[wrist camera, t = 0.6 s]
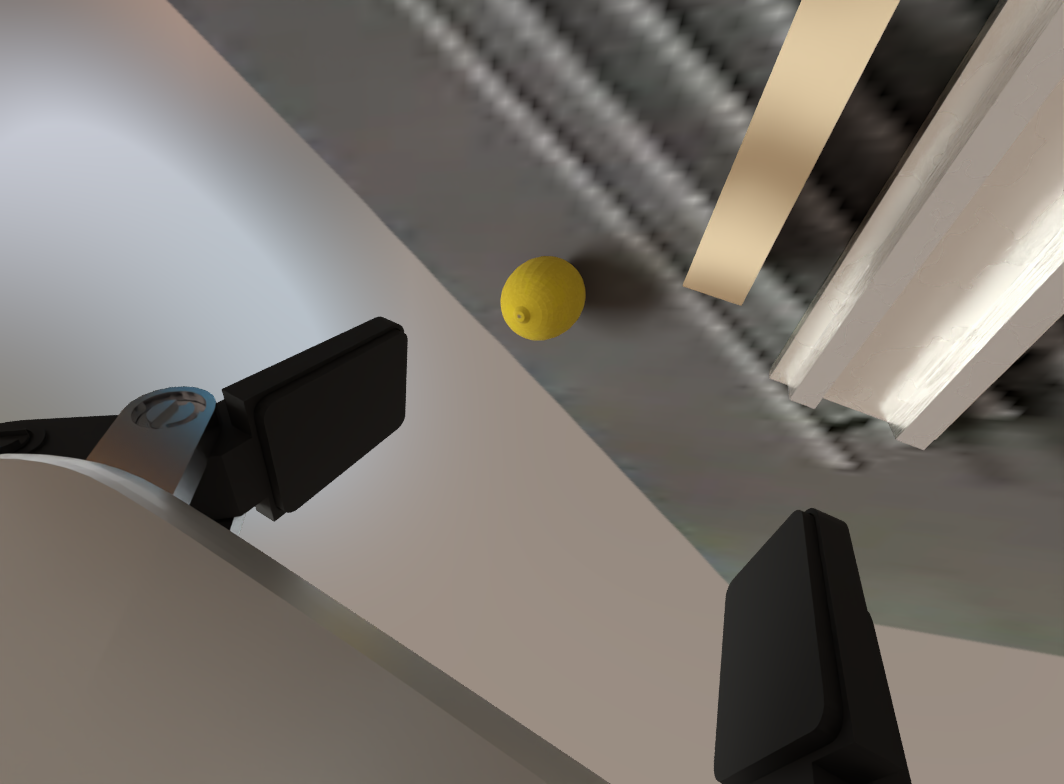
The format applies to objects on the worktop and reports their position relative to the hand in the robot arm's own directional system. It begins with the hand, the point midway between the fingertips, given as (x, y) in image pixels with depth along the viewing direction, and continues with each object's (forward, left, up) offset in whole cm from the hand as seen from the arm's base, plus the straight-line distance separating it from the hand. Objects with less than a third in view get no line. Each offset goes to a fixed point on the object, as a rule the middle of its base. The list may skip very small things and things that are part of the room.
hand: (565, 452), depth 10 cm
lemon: (+5, -8, -23) cm, 25 cm away
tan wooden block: (-6, +2, -23) cm, 24 cm away
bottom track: (-5, +13, -23) cm, 27 cm away
